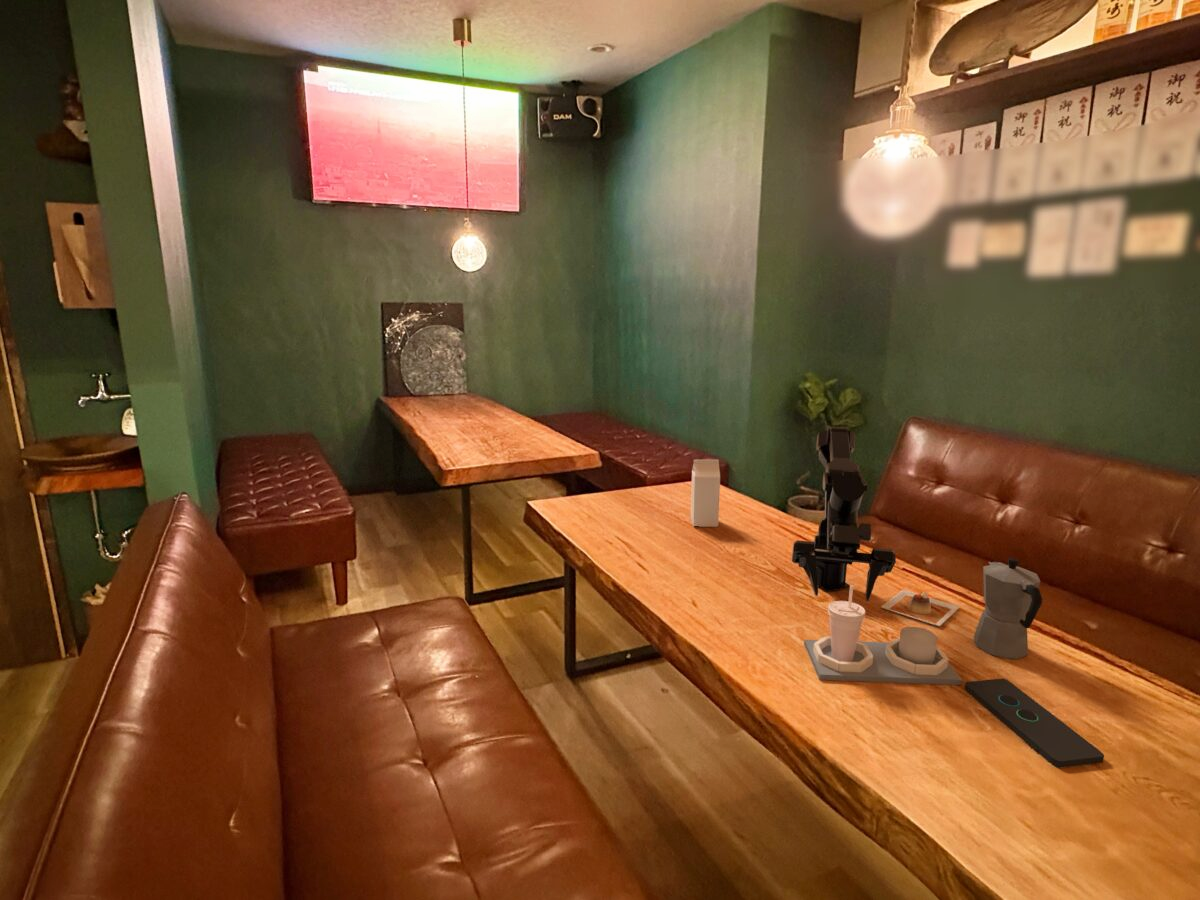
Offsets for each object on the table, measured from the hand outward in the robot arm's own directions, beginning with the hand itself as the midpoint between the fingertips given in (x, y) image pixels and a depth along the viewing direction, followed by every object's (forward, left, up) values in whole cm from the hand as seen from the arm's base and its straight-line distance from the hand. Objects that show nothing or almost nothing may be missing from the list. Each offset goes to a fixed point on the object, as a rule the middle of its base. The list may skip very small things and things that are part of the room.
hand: (841, 598), depth 128 cm
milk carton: (-8, -69, -9) cm, 70 cm away
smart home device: (-12, +31, -10) cm, 34 cm away
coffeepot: (-27, +13, -9) cm, 32 cm away
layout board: (-2, +9, -9) cm, 13 cm away
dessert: (-25, -5, -10) cm, 28 cm away
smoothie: (+4, +6, -8) cm, 11 cm away
